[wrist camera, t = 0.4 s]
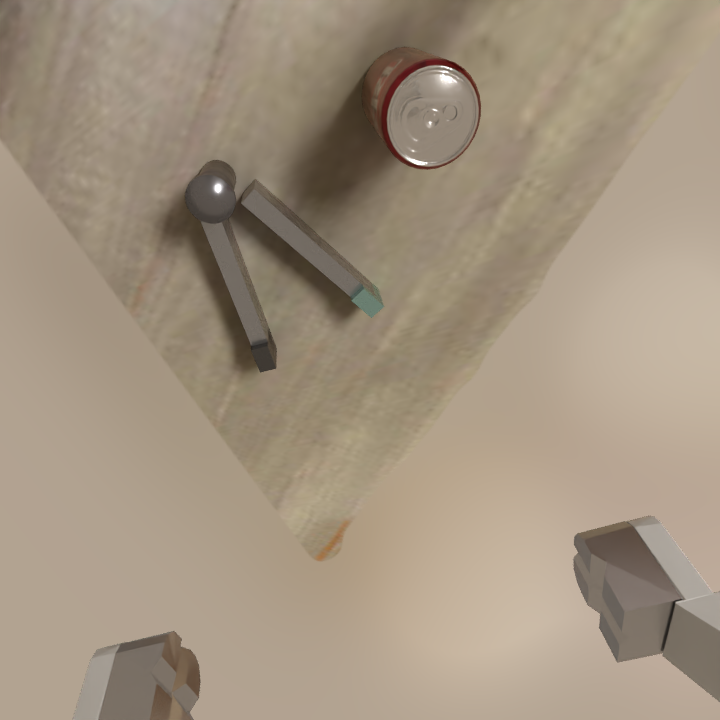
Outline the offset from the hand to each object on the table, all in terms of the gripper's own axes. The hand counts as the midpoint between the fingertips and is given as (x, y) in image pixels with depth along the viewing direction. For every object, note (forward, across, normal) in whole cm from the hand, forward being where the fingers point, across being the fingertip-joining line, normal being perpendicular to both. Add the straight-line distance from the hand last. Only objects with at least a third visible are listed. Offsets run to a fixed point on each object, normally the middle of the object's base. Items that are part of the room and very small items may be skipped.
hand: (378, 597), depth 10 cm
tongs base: (+45, +9, +10) cm, 47 cm away
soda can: (+45, -9, -2) cm, 46 cm away
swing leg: (+45, +2, +10) cm, 46 cm away
